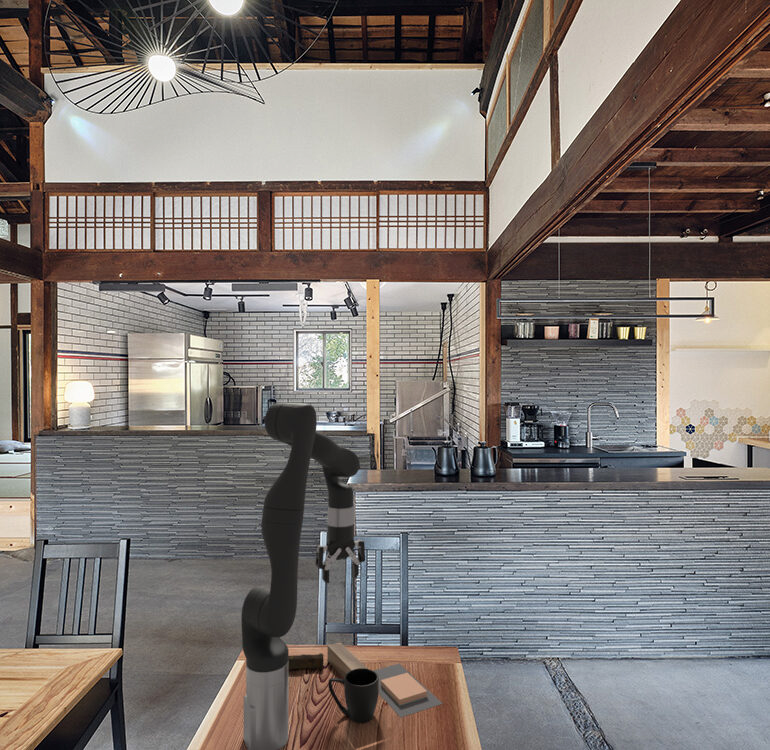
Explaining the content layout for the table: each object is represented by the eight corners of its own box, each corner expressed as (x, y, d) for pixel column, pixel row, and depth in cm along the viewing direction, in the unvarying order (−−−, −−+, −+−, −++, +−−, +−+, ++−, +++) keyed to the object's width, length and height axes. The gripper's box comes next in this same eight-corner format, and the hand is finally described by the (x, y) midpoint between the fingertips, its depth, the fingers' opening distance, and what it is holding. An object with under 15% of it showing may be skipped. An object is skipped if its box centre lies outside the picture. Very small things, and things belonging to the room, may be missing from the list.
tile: (380, 686, 140) (399, 706, 131) (380, 680, 140) (399, 699, 131) (407, 678, 144) (427, 697, 135) (407, 672, 144) (427, 691, 135)
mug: (332, 705, 133) (332, 666, 133) (380, 708, 131) (380, 668, 132) (325, 726, 124) (325, 684, 125) (376, 729, 123) (376, 687, 123)
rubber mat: (400, 719, 127) (400, 717, 127) (360, 675, 146) (360, 674, 146) (442, 705, 133) (442, 703, 133) (399, 664, 152) (399, 663, 152)
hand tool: (324, 665, 152) (324, 648, 153) (322, 672, 148) (322, 655, 149) (257, 666, 152) (257, 649, 152) (254, 673, 148) (254, 656, 148)
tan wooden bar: (355, 693, 138) (355, 674, 138) (327, 663, 154) (327, 645, 154) (369, 689, 140) (369, 670, 140) (340, 659, 156) (340, 642, 156)
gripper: (321, 528, 146) (321, 588, 145) (369, 522, 152) (369, 580, 152) (312, 522, 152) (312, 580, 152) (358, 516, 159) (358, 572, 159)
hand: (340, 580), depth 152 cm, fingers open, 8 cm apart
